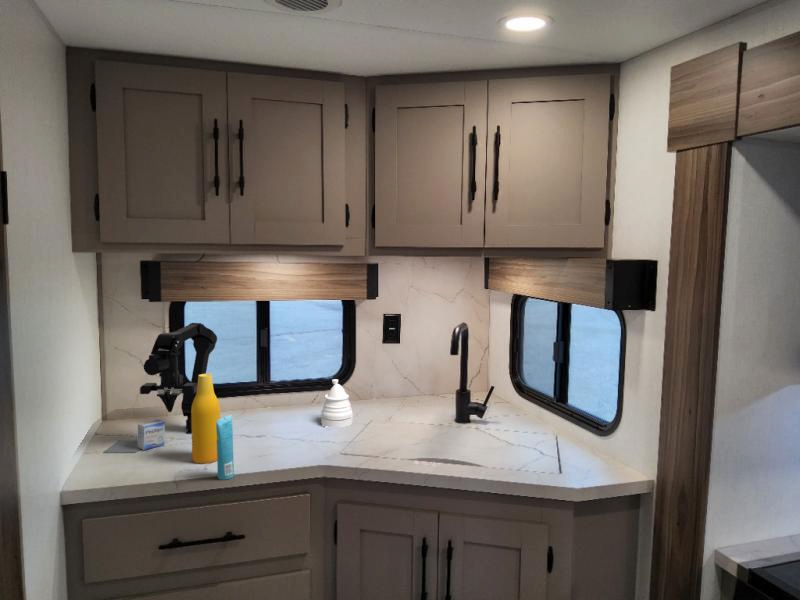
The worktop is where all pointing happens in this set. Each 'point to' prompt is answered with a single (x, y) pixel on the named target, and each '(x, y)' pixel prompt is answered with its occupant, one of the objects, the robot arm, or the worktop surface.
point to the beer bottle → (204, 421)
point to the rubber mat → (123, 447)
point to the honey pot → (337, 408)
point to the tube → (225, 448)
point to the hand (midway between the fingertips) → (170, 411)
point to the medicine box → (151, 434)
